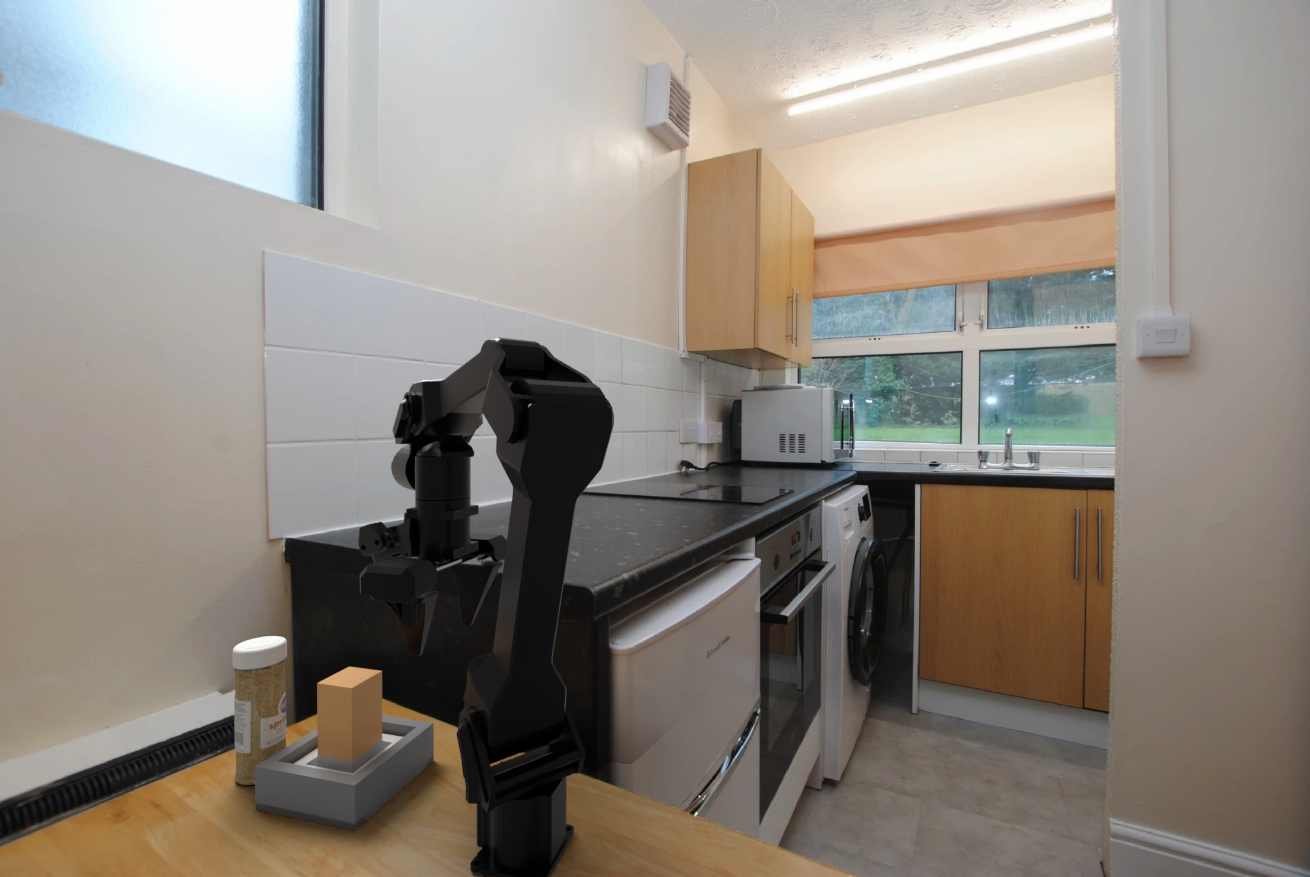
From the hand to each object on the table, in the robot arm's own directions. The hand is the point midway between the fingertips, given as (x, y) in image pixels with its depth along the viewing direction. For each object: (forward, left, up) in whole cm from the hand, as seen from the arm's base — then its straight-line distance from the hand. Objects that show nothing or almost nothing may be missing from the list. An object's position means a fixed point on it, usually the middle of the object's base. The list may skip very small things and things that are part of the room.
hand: (443, 639), depth 63 cm
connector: (+5, +8, -11) cm, 15 cm away
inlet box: (+5, +8, -12) cm, 15 cm away
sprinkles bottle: (+15, +9, -12) cm, 21 cm away
